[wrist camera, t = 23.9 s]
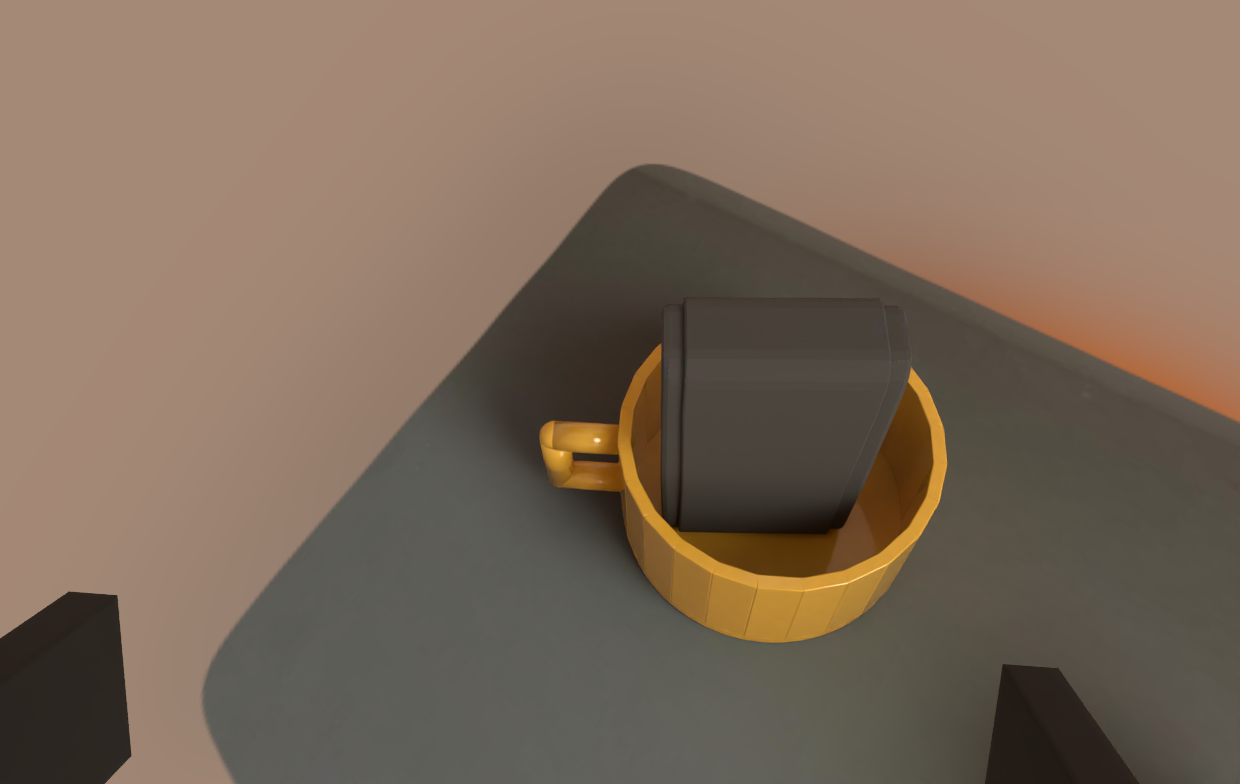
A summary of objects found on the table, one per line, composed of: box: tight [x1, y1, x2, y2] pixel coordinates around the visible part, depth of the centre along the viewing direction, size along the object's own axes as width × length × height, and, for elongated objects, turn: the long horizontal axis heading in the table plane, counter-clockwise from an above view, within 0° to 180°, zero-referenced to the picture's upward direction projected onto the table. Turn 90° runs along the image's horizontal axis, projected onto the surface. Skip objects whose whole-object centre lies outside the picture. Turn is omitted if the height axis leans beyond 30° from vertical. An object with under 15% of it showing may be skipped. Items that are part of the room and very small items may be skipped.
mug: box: [539, 344, 947, 643], centre depth 45 cm, size 18×14×7 cm
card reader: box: [660, 298, 912, 534], centre depth 41 cm, size 9×4×15 cm, turn 88°
